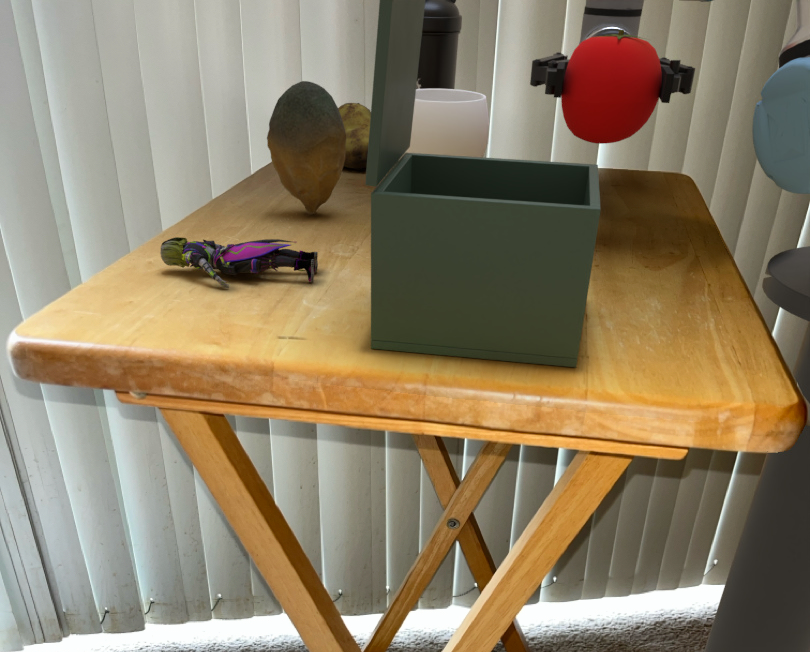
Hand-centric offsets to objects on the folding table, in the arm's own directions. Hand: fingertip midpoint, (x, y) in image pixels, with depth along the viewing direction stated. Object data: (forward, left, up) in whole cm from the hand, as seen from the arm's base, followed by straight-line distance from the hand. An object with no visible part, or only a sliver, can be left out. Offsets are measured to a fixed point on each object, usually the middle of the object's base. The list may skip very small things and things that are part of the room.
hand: (613, 85), depth 88 cm
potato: (+36, -35, -17) cm, 53 cm away
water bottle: (+26, -40, -17) cm, 51 cm away
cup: (+18, 0, -17) cm, 25 cm away
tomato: (0, -4, -6) cm, 7 cm away
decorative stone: (+35, -5, -17) cm, 39 cm away
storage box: (+10, +27, -17) cm, 33 cm away
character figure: (+36, +19, -17) cm, 44 cm away
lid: (+18, +27, +6) cm, 33 cm away
